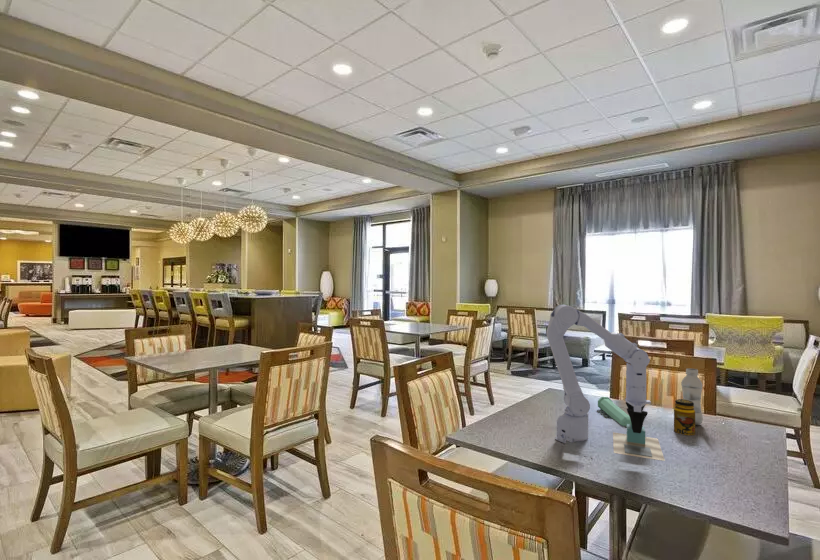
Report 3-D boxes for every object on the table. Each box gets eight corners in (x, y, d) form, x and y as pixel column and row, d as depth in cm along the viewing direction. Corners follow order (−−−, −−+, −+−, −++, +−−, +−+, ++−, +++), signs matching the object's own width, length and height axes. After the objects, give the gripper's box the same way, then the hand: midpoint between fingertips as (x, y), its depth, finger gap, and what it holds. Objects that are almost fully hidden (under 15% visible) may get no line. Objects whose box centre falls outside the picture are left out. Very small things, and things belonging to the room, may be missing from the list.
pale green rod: (635, 414, 149) (609, 394, 174) (618, 420, 149) (594, 399, 174) (641, 430, 149) (614, 407, 173) (624, 436, 149) (600, 412, 174)
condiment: (685, 441, 140) (685, 404, 140) (663, 432, 148) (663, 397, 148) (702, 439, 142) (702, 402, 142) (679, 430, 150) (679, 396, 150)
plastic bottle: (707, 427, 154) (707, 371, 154) (687, 427, 154) (688, 371, 154) (695, 421, 160) (695, 367, 160) (677, 421, 160) (677, 367, 160)
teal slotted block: (645, 444, 133) (645, 431, 133) (627, 441, 135) (627, 428, 135) (644, 438, 137) (644, 426, 137) (626, 436, 139) (626, 424, 139)
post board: (664, 466, 120) (665, 450, 120) (613, 457, 126) (613, 442, 126) (657, 443, 138) (657, 429, 138) (612, 436, 143) (612, 423, 143)
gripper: (652, 392, 128) (652, 438, 128) (648, 382, 141) (648, 423, 141) (626, 389, 131) (626, 434, 131) (624, 380, 144) (624, 420, 144)
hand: (636, 428), depth 136 cm, fingers open, 7 cm apart
